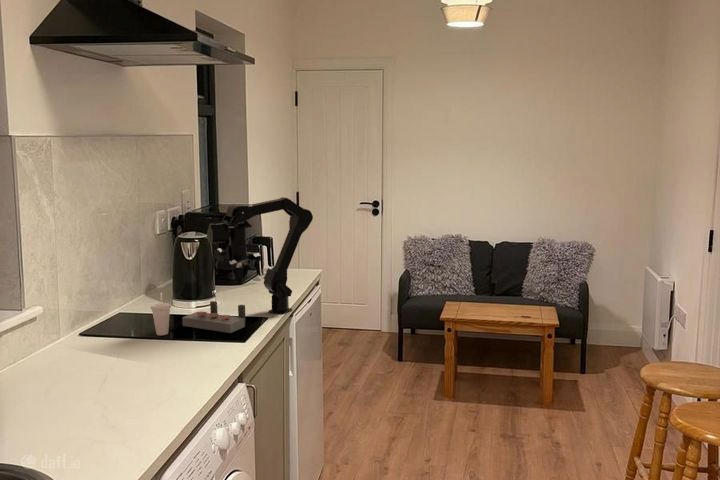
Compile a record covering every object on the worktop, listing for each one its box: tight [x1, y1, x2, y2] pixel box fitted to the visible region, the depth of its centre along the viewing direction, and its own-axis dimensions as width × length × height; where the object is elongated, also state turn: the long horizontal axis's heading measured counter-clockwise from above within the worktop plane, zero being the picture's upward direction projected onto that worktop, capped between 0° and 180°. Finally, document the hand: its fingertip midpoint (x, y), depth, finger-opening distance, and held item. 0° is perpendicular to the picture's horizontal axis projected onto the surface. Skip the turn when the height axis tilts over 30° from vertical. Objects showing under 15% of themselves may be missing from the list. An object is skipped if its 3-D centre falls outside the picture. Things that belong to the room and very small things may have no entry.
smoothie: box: [150, 291, 172, 336], centre depth 233 cm, size 6×6×14 cm
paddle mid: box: [208, 312, 219, 317], centre depth 241 cm, size 3×2×1 cm
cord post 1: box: [209, 300, 219, 315], centre depth 251 cm, size 2×2×6 cm
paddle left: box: [196, 310, 208, 316], centre depth 243 cm, size 3×2×1 cm
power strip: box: [182, 311, 246, 334], centre depth 241 cm, size 8×20×3 cm, turn 63°
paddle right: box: [220, 314, 231, 319], centre depth 239 cm, size 3×2×1 cm
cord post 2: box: [237, 304, 247, 324], centre depth 246 cm, size 2×2×6 cm
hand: (240, 284), depth 250 cm, fingers closed
